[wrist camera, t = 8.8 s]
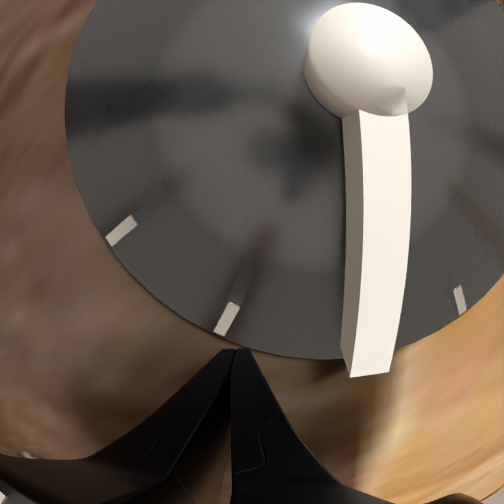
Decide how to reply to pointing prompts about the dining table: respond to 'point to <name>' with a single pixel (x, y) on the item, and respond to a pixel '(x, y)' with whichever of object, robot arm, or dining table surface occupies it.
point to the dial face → (278, 164)
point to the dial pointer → (371, 163)
